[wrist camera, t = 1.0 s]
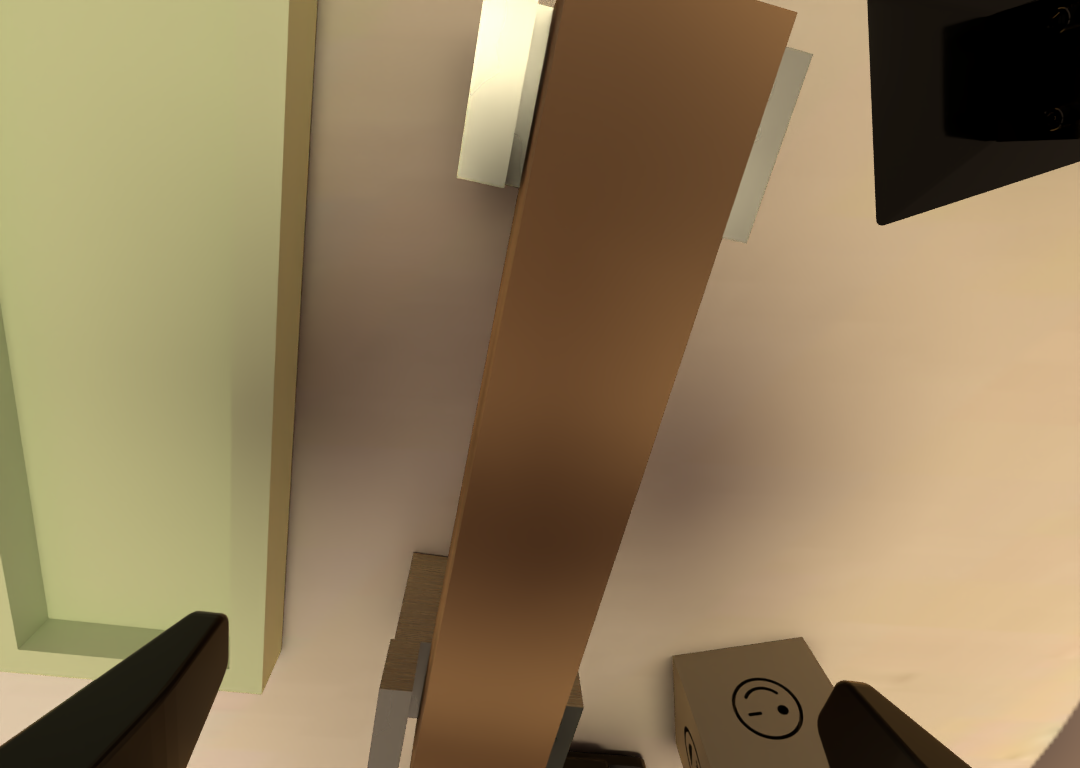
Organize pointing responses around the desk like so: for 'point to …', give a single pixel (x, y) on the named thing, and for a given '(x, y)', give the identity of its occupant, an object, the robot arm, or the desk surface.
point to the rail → (586, 348)
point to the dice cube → (750, 706)
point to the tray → (148, 323)
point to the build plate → (970, 97)
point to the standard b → (511, 89)
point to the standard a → (410, 668)
